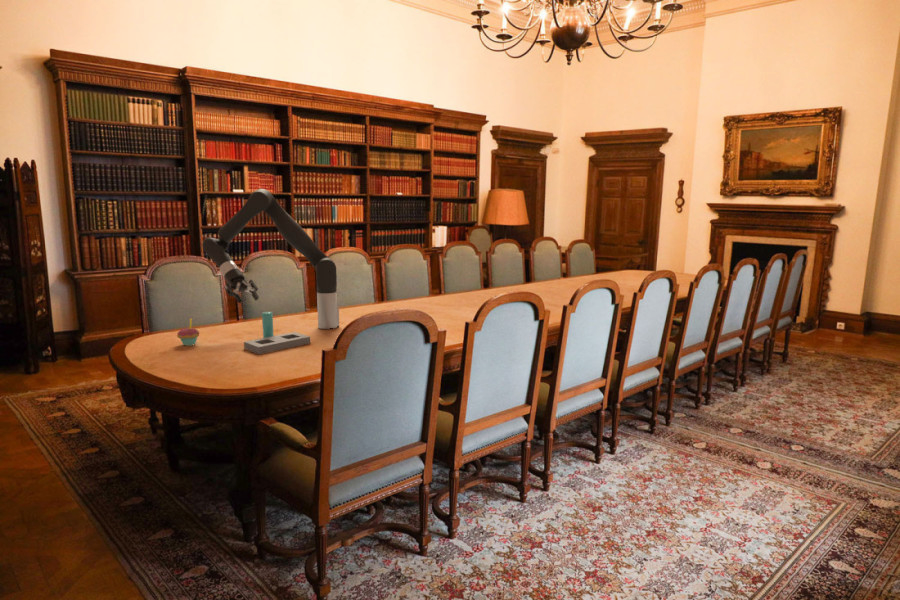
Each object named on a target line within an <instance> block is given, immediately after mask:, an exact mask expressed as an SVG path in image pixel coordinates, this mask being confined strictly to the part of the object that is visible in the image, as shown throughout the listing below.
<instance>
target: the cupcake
mask: <svg viewBox="0 0 900 600" xmlns="http://www.w3.org/2000/svg"><path fill="white" fill-rule="evenodd" d="M192 318H193V317H190V319H189V327H187V328H186V327H185V328H182V329H180V330H179V331H178V332H177V335H176V336H177V338H178V339H180V341H181V342H182V345H183V346H184V345H191V346H194V345H193V344H195V343H197V340H198V337H199V336H200V331H199V330H198V329H196V328H193V327H192V324H193V319H192ZM195 345H196V344H195Z"/></svg>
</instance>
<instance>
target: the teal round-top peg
mask: <svg viewBox="0 0 900 600" xmlns="http://www.w3.org/2000/svg"><path fill="white" fill-rule="evenodd" d="M261 320H262V322H261V323H262V324H261V325H262V338H266V337H271V336H275V335H274V317H273V311H263V312H261Z"/></svg>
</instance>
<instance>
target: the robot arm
mask: <svg viewBox="0 0 900 600" xmlns="http://www.w3.org/2000/svg"><path fill="white" fill-rule="evenodd" d="M262 212H264V213H265V215H267V217H269V218H270V219H271V220H272V222H273V223H274V225H275V227H276V229H277V231H278V232H279V234H280V235H281V236H282V238H283V239H285V241H286V242H287V243H288V244H289V245H290V246H291V247H293V249H295V250H296V251H297V252H298V253H299V254H301V255H302V256H303V257H305V259H307V260H308V262H309V263H310V264H311V265H312V267H313V268H314V269H315V272H316V273H315V274H316V276H315V277H316V300H317V301H316V303H317V304H316V305H317V307H316V308H317V327H318V328H319V329H321V330H330V328H333V329H336V328H338V327H337V326H339V327H340V307H339V306H338V299H337V297H338V295H337V292H338V291H337V290H338V289H337V287H338V281H337V265H336V263H335V262H334V260H332V258H330V257H329V256H327V255H326V253H324V252H323V251H322V250H321V249H320V248H318V246H317V245H316V244H315V242H314V241H313V239H312V238H311V237H310V235H309V234H308V233H307V232H306V231H305V230H304V228H302V226H301V225H299V223H298V222H296V220H295V219H293V217H292V216H291V215H290V214H289V213H288V212H287V211H286V210H285V209H284V208H283V207H282V206H281V205H280V203H279V202H278V200H277V199H276V198H275V197H274V195H273V194H272V193H271V192H270V191H269V190H267V189H265V188H258V189H256V190H254V191H253V192H252V193H251V194H250V196H249V197H248V198H247V200H246V201H245V203H244V204H243V206H242V207H241V208H240V209H239V210H238V211H237V212H236V213H235V214H234V215H233V216H232V217H231V218H230V219H228V221H226V222H225V223H224V224H223V225H222V226H221V227H220V229H218V230H217V235H218V236H219V237H218V238H215V237H206V238H204V240H203V241H202V245H201V246H202V249H203V251H204V253H205V254H206V255H207V256H208V257H209V258H210V259H211V260H212V261H213V262H214V263H215V264H216V267H217V268H218V270H219V271H220V273H221V276H223V278H224V280H225V281H226V283H225V285H224V287H223V288H224V290H225V292H226V293H227V295H228V297H229V298H230V297H231V298H232V297H233V298H234V299H235V300H236V301H237V303H238V304H242V302H243V298H242V297H241V295H240V292H241V293H242V292H246V293H249V294H251V296H252V298H253V299H254V301H258V300H259V299H260V298H259V294H258V292H257V291H258V290H259V288H258V287H257V285H256V284H255V282H254V281H253V279H250V280H248V281H246V279H245V276H244V274H243V272H242V271H241V270H240V269H239V266H238V265H237V264H236V263H235V262H234V260H233V258H232V257H231V256H230V254H229V253H227V252H226V251H227V249H228V248H229V246H230V244H231V242H232V240H234V239H235V237H237V235H239V234H240V233H241V232H242V230H243V229H244V228H245V227H246V226H247V224H248V223H249V222H250V221H251V220H252V219H254V217H256V216H258V215H259V214H261V213H262Z"/></svg>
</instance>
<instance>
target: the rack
mask: <svg viewBox="0 0 900 600" xmlns="http://www.w3.org/2000/svg"><path fill="white" fill-rule="evenodd" d="M308 343H310V344H311V336H309V335H307V334H303V333H300V332H297V331H293V332H289V333H288V332H287V333H283V334H277V335H274V336H271V337H266V338H263V337H262V338H257V339H253V340H252V339H251V340H245V341H243V348H244V350H246V349H247V350H246V351H249V352H251V351H252V353H254V354H257V355H262V353H263V354H267V352H268V353H272V351H273V352H276V350H277V351H282V350H286V349H285V348H287V349H291V348H295V346H296V347H300V345H301V346H305V345H309V344H308ZM304 344H305V345H304ZM290 347H291V348H290ZM281 349H282V350H281Z"/></svg>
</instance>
